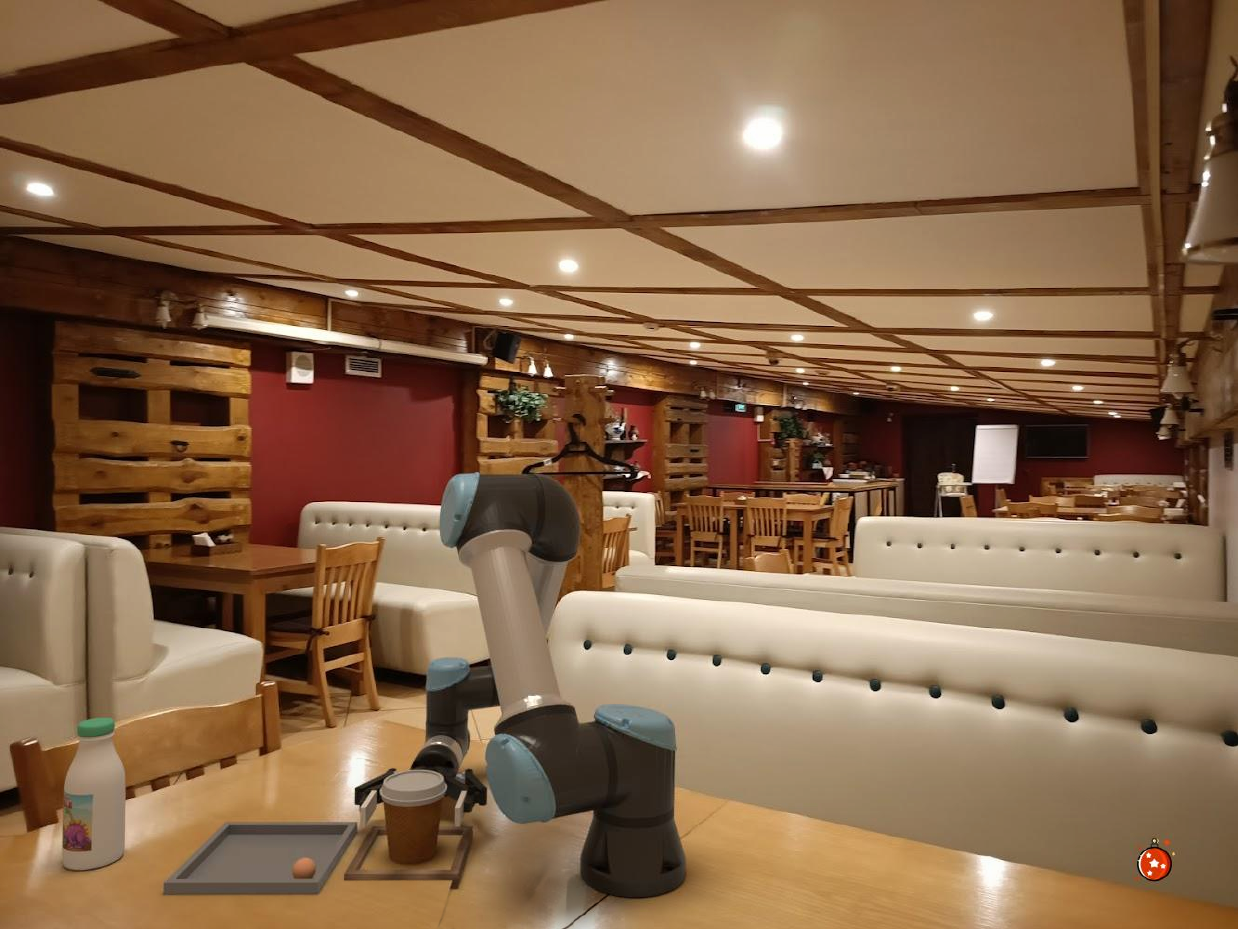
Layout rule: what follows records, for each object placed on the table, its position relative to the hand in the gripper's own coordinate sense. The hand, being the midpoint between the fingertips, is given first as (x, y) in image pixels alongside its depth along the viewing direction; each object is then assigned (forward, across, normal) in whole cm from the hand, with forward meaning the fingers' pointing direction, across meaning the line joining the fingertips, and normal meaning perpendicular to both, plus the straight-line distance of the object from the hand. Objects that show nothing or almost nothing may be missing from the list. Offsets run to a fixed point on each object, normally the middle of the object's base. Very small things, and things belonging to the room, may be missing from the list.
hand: (410, 817), depth 123 cm
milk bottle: (-2, +46, -7) cm, 46 cm away
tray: (+1, +20, -7) cm, 21 cm away
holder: (-1, 0, -7) cm, 7 cm away
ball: (+7, +13, -6) cm, 16 cm away
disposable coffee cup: (-1, 0, -7) cm, 7 cm away
